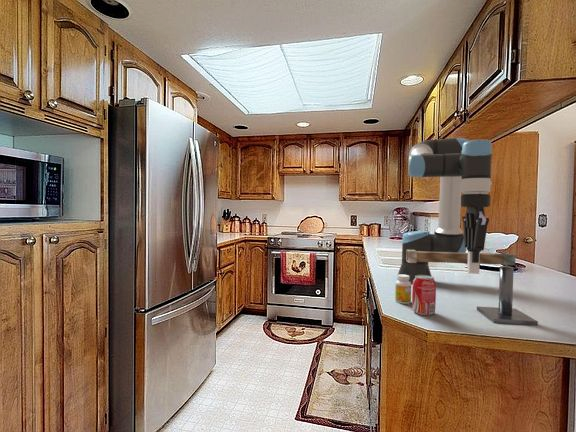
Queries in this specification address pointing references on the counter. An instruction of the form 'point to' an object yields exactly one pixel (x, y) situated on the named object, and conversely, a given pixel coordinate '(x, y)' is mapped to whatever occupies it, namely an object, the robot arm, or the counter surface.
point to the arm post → (506, 303)
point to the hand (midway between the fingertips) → (473, 273)
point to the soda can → (424, 295)
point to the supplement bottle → (403, 289)
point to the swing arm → (458, 257)
